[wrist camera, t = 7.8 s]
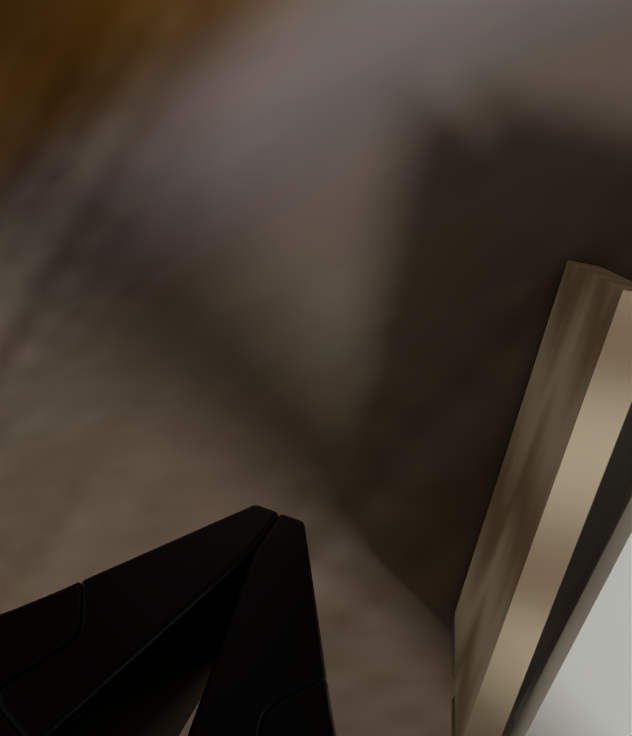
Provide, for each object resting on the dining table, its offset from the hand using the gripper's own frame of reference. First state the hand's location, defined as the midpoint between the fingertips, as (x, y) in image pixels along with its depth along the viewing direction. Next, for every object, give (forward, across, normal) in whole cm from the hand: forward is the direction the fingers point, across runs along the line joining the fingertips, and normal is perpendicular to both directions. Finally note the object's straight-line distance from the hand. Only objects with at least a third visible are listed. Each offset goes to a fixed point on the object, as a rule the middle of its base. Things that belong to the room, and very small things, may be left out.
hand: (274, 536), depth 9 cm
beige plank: (+13, -6, +3) cm, 14 cm away
